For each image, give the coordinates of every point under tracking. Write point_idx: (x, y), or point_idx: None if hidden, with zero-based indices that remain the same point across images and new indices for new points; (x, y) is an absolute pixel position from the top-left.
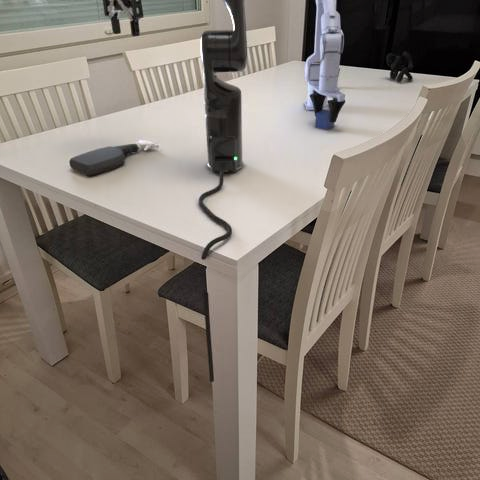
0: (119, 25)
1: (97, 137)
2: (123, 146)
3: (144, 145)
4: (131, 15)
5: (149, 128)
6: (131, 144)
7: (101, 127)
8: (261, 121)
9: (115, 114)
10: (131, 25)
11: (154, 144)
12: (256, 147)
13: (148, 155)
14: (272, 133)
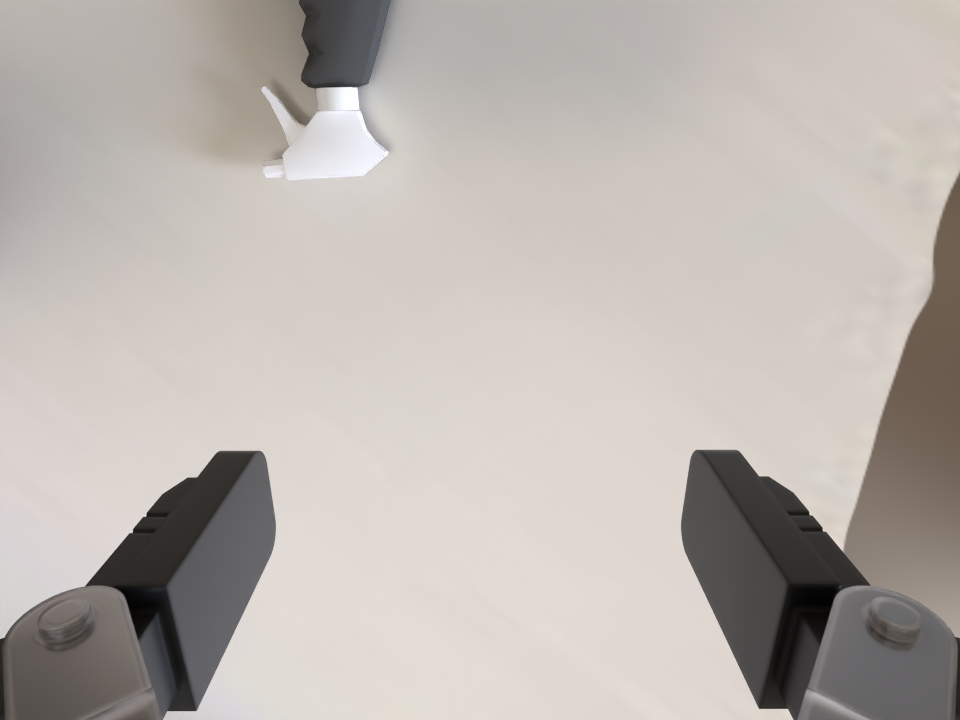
0: (716, 610)
1: (677, 92)
2: (329, 7)
3: (309, 124)
4: (12, 691)
5: (562, 345)
6: (330, 62)
7: (785, 207)
8: (262, 656)
9: (880, 381)
10: (167, 536)
11: (281, 164)
12: (30, 449)
13: (256, 95)
14: None
